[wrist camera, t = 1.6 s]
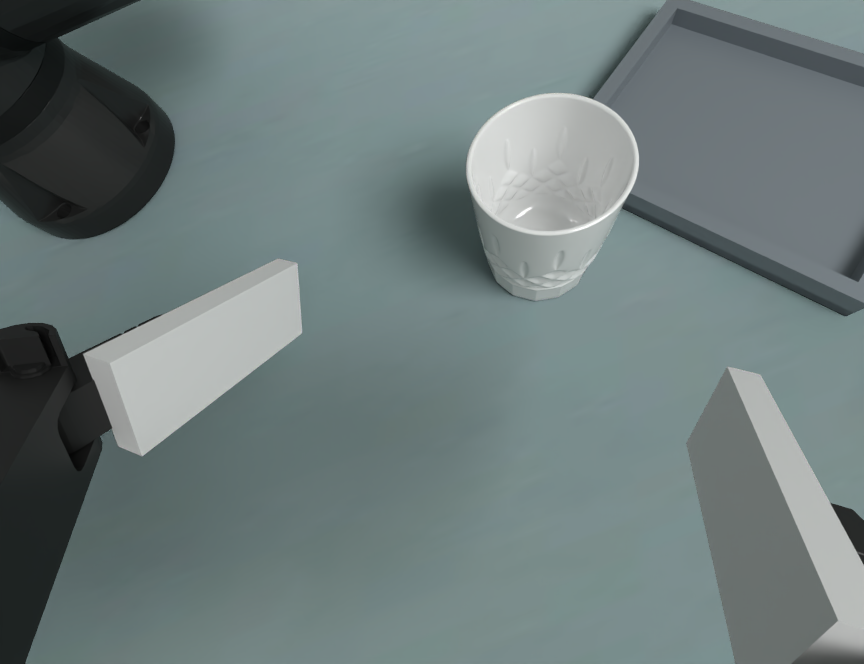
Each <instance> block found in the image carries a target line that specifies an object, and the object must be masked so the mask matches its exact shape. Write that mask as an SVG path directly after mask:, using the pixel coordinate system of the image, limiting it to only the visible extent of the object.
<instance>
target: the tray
mask: <svg viewBox="0 0 864 664" xmlns="http://www.w3.org/2000/svg"><path fill="white" fill-rule="evenodd" d="M593 100H596V101H598V102H600V103H602V104H604V105H606V106H607V107H609V108H610V109H612V110H613V111H614V112H616V113H617V114H618V115H619V116H620V117H621V118H622V119H623V120H624V121H625V123H626V124H627V125H628V127H629V128H630V130H631V131H632V133H633V135H634V138H635V140H636V143H637V147H638V152H639V168H638V174H637V177H636V180H635V183H634V185H633V188H632V190H631V192H630V193H629V195H628V197H627V199H626V201H625V203H624V205H623V207H622V208H623V209H625V210H627V211H629V212H632V213H634V214H636V215H638V216H640V217H642V218H644V219H646V220H648V221H650V222H652V223H654V224H656V225H658V226H660V227H663V228H665V229H667V230H669V231H671V232H673V233H675V234H677V235H679V236H681V237H683V238H685V239H687V240H689V241H691V242H693V243H696V244H698V245H700V246H702V247H704V248H706V249H708V250H710V251H712V252H714V253H716V254H718V255H720V256H722V257H724V258H726V259H729V260H731V261H733V262H735V263H737V264H739V265H741V266H743V267H745V268H747V269H749V270H751V271H753V272H755V273H757V274H760V275H762V276H764V277H766V278H768V279H770V280H772V281H774V282H776V283H778V284H780V285H782V286H784V287H786V288H788V289H790V290H793V291H795V292H797V293H799V294H801V295H803V296H805V297H807V298H809V299H811V300H813V301H815V302H817V303H819V304H821V305H824V306H826V307H828V308H830V309H832V310H834V311H836V312H838V313H840V314H842V315H844V316H848V315H850V314H852V313H854V312H857V311H859V310H861V309H864V54H863V53H860V52H856V51H853V50H850V49H847V48H843V47H840V46H837V45H834V44H830V43H827V42H824V41H821V40H817V39H814V38H811V37H808V36H804V35H801V34H798V33H795V32H791V31H788V30H785V29H782V28H778V27H775V26H772V25H769V24H765V23H762V22H759V21H756V20H752V19H749V18H746V17H743V16H739V15H736V14H733V13H730V12H726V11H723V10H720V9H717V8H713V7H710V6H707V5H704V4H700V3H697V2H694V1H691V0H667V1H666V2H665V4H664V5H663V6H662V8H661V9H660V10H659V12H658V13H657V14H656V16H655V17H654V18H653V20H652V21H651V22H650V24H649V25H648V26H647V28H646V29H645V30H644V32H643V33H642V34H641V36H640V37H639V38H638V39H637V41H636V42H635V43H634V45H633V46H632V47H631V49H630V50H629V51H628V53H627V54H626V55H625V57H624V58H623V59H622V61H621V62H620V63H619V65H618V66H617V67H616V69H615V70H614V71H613V73H612V74H611V75H610V77H609V78H608V79H607V81H606V82H605V83H604V85H603V86H602V87H601V89H600V90H599V91H598V93H597V94H596V95H595V97H594V98H593Z"/></svg>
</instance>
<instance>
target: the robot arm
mask: <svg viewBox="0 0 864 664" xmlns="http://www.w3.org/2000/svg"><path fill="white" fill-rule="evenodd" d="M138 1H140V0H0V200H1V201H2V202H3V203H4V204H5V205H6V206H7V207H9V208H10V209H11V210H12V211H13V212H14V213H15V214H16V215H18V216H19V217H20V218H22V219H23V220H25V221H26V222H28V223H30V224H32V225H34V226H36V227H38V228H40V229H42V230H44V231H46V232H48V233H50V234H52V235H55V236H57V237H61V238H67V239H80V238H87V237H92V236H95V235H99V234H101V233H104V232H107V231H109V230H111V229H113V228H115V227H117V226H118V225H120V224H122V223H123V222H125V221H126V220H128V219H129V218H130V217H132V216H133V215H134V214H136V213H137V212H138V211H139V210H140V209H141V208H142V207H143V206H144V205H145V204H146V203H147V202H148V201H149V200H150V199H151V197H152V196H153V195H154V194H155V192H156V191H157V190H158V188H159V187H160V185H161V183H162V182H163V180H164V178H165V176H166V174H167V172H168V170H169V167H170V164H171V161H172V158H173V153H174V144H175V140H174V131H173V127H172V124H171V122H170V120H169V118H168V116H167V115H166V113H165V112H164V111H163V110H162V109H161V108H160V107H159V106H158V105H157V104H156V103H155V102H154V101H153V100H152V99H151V98H150V97H149V96H148V95H147V94H146V93H145V92H144V91H142V90H141V89H140V88H138V87H137V86H135V85H134V84H132V83H130V82H128V81H127V80H125V79H123V78H121V77H120V76H118V75H116V74H114V73H113V72H111V71H109V70H107V69H106V68H104V67H102V66H101V65H99V64H97V63H95V62H94V61H92V60H90V59H88V58H87V57H85V56H83V55H81V54H80V53H78V52H76V51H74V50H73V49H71V48H69V47H68V46H66V45H65V44H64V43H63V42H62V41H61V40H59V39H58V37H60V36H62V35H64V34H66V33H69V32H71V31H73V30H75V29H78V28H80V27H82V26H84V25H86V24H89V23H91V22H93V21H95V20H98V19H100V18H102V17H104V16H106V15H109V14H111V13H113V12H115V11H118V10H120V9H122V8H124V7H126V6H129V5H131V4H133V3H135V2H138ZM300 334H302V322H301V308H300V294H299V280H298V265H297V263H295V262H291V261H287V260H282V259H276V260H274V261H272V262H270V263H268V264H266V265H264V266H262V267H260V268H258V269H256V270H254V271H252V272H249V273H247V274H245V275H243V276H241V277H239V278H237V279H235V280H233V281H231V282H229V283H227V284H225V285H223V286H221V287H219V288H217V289H215V290H213V291H211V292H209V293H207V294H204V295H202V296H200V297H198V298H196V299H194V300H192V301H190V302H188V303H186V304H184V305H182V306H180V307H178V308H176V309H174V310H172V311H170V312H168V313H166V314H163V315H159V316H156V317H153V318H151V319H149V320H147V321H145V322H143V323H141V324H139V325H138V327H133V328H131V329H129V330H127V331H125V332H124V334H118V335H116V336H114V337H112V338H110V339H108V340H106V341H104V342H102V343H100V344H98V345H96V346H94V347H92V348H90V349H88V350H85V351H83V352H81V353H79V354H77V355H75V356H73V357H71V358H69V359H68V356H67V354H66V352H65V349H64V347H63V344H62V342H61V339H60V337H59V334H58V332H57V329H56V328H54V327H53V326H52V325H49V324H44V323H27V324H20V325H14V326H10V327H6V328H3V329H0V664H25V662H26V659H27V656H28V653H29V651H30V648H31V645H32V642H33V639H34V637H35V634H36V631H37V628H38V626H39V623H40V620H41V617H42V614H43V612H44V609H45V606H46V603H47V601H48V598H49V595H50V592H51V589H52V587H53V584H54V581H55V578H56V576H57V573H58V570H59V567H60V564H61V562H62V559H63V556H64V553H65V551H66V548H67V545H68V542H69V539H70V537H71V534H72V531H73V528H74V526H75V523H76V520H77V517H78V515H79V512H80V509H81V506H82V503H83V501H84V498H85V495H86V492H87V490H88V487H89V484H90V481H91V478H92V476H93V473H94V470H95V467H96V465H97V462H98V459H99V456H100V453H101V451H102V440H101V438H100V436H101V435H102V434H104V433H105V432H107V431H108V430H110V429H112V431H113V434H114V436H115V439H116V442H117V444H118V447H121V448H123V449H125V450H128V451H130V452H133V453H135V454H138V455H140V456H143V455H145V454H146V453H147V452H149V451H150V450H151V449H152V448H154V447H155V446H156V445H158V444H159V443H160V442H161V441H163V440H164V439H165V438H167V437H168V436H169V435H171V434H172V433H173V432H174V431H176V430H177V429H178V428H180V427H181V426H182V425H184V424H185V423H186V422H187V421H189V420H190V419H191V418H193V417H194V416H195V415H197V414H198V413H199V412H200V411H202V410H203V409H204V408H206V407H207V406H208V405H210V404H211V403H212V402H213V401H215V400H216V399H217V398H219V397H220V396H221V395H222V394H224V393H225V392H226V391H228V390H229V389H230V388H232V387H233V386H234V385H235V384H237V383H238V382H239V381H241V380H242V379H243V378H245V377H246V376H247V375H248V374H250V373H251V372H252V371H254V370H255V369H256V368H258V367H259V366H260V365H261V364H263V363H264V362H265V361H267V360H268V359H269V358H270V357H272V356H273V355H274V354H276V353H277V352H278V351H280V350H281V349H282V348H283V347H285V346H286V345H287V344H289V343H290V342H291V341H293V340H294V339H295V338H296V337H298V336H299V335H300ZM686 444H687V448H688V453H689V457H690V462H691V466H692V471H693V475H694V480H695V484H696V489H697V493H698V498H699V502H700V507H701V511H702V516H703V520H704V525H705V529H706V534H707V538H708V543H709V547H710V551H711V556H712V560H713V565H714V569H715V574H716V578H717V583H718V587H719V592H720V596H721V601H722V605H723V610H724V614H725V619H726V623H727V628H728V632H729V637H730V641H731V646H732V650H733V655H734V659H735V664H864V520H863V519H862V518H861V517H860V516H859V515H858V514H857V513H856V512H855V511H854V510H852V509H849V508H845V507H842V506H839V505H835V504H832V503H830V502H829V500H828V498H827V496H826V495H825V493H824V491H823V489H822V487H821V485H820V484H819V482H818V480H817V478H816V476H815V474H814V473H813V471H812V469H811V467H810V465H809V463H808V462H807V460H806V458H805V456H804V454H803V452H802V450H801V449H800V447H799V445H798V443H797V441H796V439H795V438H794V436H793V434H792V432H791V430H790V428H789V427H788V425H787V423H786V421H785V419H784V417H783V416H782V414H781V412H780V410H779V408H778V406H777V404H776V403H775V401H774V399H773V397H772V395H771V393H770V392H769V390H768V388H767V386H766V384H765V382H764V381H763V379H762V377H761V375H760V374H756V373H752V372H748V371H744V370H740V369H735V368H731V367H727V368H726V370H725V372H724V374H723V375H722V377H721V379H720V381H719V383H718V385H717V387H716V389H715V390H714V392H713V394H712V396H711V398H710V400H709V402H708V404H707V405H706V407H705V409H704V411H703V413H702V415H701V417H700V419H699V420H698V422H697V424H696V426H695V428H694V430H693V432H692V433H691V435H690V437H689V439H688V441H687V443H686Z"/></svg>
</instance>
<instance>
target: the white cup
mask: <svg viewBox="0 0 864 664" xmlns="http://www.w3.org/2000/svg"><path fill="white" fill-rule="evenodd" d="M638 168H639V152H638V147H637V143H636V140H635V138H634V135H633V133H632V131H631V130H630V128H629V127H628V125H627V124H626V123H625V121H624V120H623V119H622V118H621V117H620V116H619V115H618V114H617V113H616V112H614V111H613V110H612V109H610V108H609V107H607V106H606V105H604V104H602V103H600V102H598V101H596V100H593V99H591V98H588V97H584V96H580V95H575V94H568V93H547V94H540V95H535V96H531V97H527V98H524V99H521V100H519V101H516V102H514V103H512V104H510V105H508V106H506V107H505V108H503V109H501V110H500V111H498V112H497V113H496V114H494V115H493V116H492V117H491V118H490V119H489V120H488V121H487V122H486V123H485V124H484V125H483V126H482V127H481V128H480V130H479V131H478V133H477V134H476V136H475V137H474V139H473V141H472V143H471V146H470V148H469V152H468V155H467V161H466V177H467V182H468V186H469V191H470V195H471V199H472V203H473V208H474V212H475V216H476V221H477V225H478V230H479V234H480V237H481V241H482V244H483V248H484V251H485V254H486V257H487V260H488V264H489V266H490V268H491V271H492V273H493V275H494V277H495V280H496V282H497V283H499V284H500V285H501V286H502V287H503V288H505V289H506V290H507V291H508V292H510V293H511V294H512V295H514V296H517V297H521V298H525V299H529V300H533V301H539V300H545V299H551V298H557V297H560V296H561V295H563V294H564V293H566V292H567V291H569V290H570V289H572V288H573V287H575V286H576V285H578V283H579V281H580V280H581V278H582V276H583V274H584V273H585V271H586V269H587V268H588V266H589V265H590V264H591V263H592V261H593V260H594V258H595V257H596V255H597V253H598V251H599V250H600V248H601V246H602V244H603V242H604V241H605V239H606V238H607V236H608V234H609V232H610V230H611V228H612V226H613V224H614V222H615V220H616V218H617V216H618V214H619V212H620V211H621V209H622V207H623V205H624V203H625V201H626V199H627V197H628V195H629V193H630V192H631V190H632V188H633V185H634V183H635V180H636V177H637V174H638Z"/></svg>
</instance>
